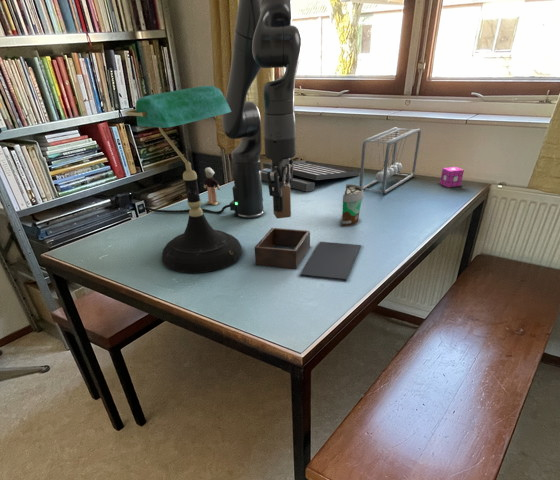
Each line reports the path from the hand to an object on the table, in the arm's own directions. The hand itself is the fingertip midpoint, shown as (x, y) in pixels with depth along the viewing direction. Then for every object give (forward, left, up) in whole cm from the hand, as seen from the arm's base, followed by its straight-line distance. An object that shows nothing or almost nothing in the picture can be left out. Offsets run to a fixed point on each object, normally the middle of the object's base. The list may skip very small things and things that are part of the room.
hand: (281, 207), depth 110 cm
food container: (+14, +31, -14) cm, 37 cm away
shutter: (-15, +80, -14) cm, 83 cm away
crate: (0, 0, -14) cm, 14 cm away
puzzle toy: (+44, +78, -14) cm, 91 cm away
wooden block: (0, 0, -2) cm, 2 cm away
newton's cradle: (+20, +76, -14) cm, 80 cm away
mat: (+14, 0, -14) cm, 19 cm away
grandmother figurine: (-40, +39, -14) cm, 58 cm away
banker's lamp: (-23, -5, -14) cm, 27 cm away
